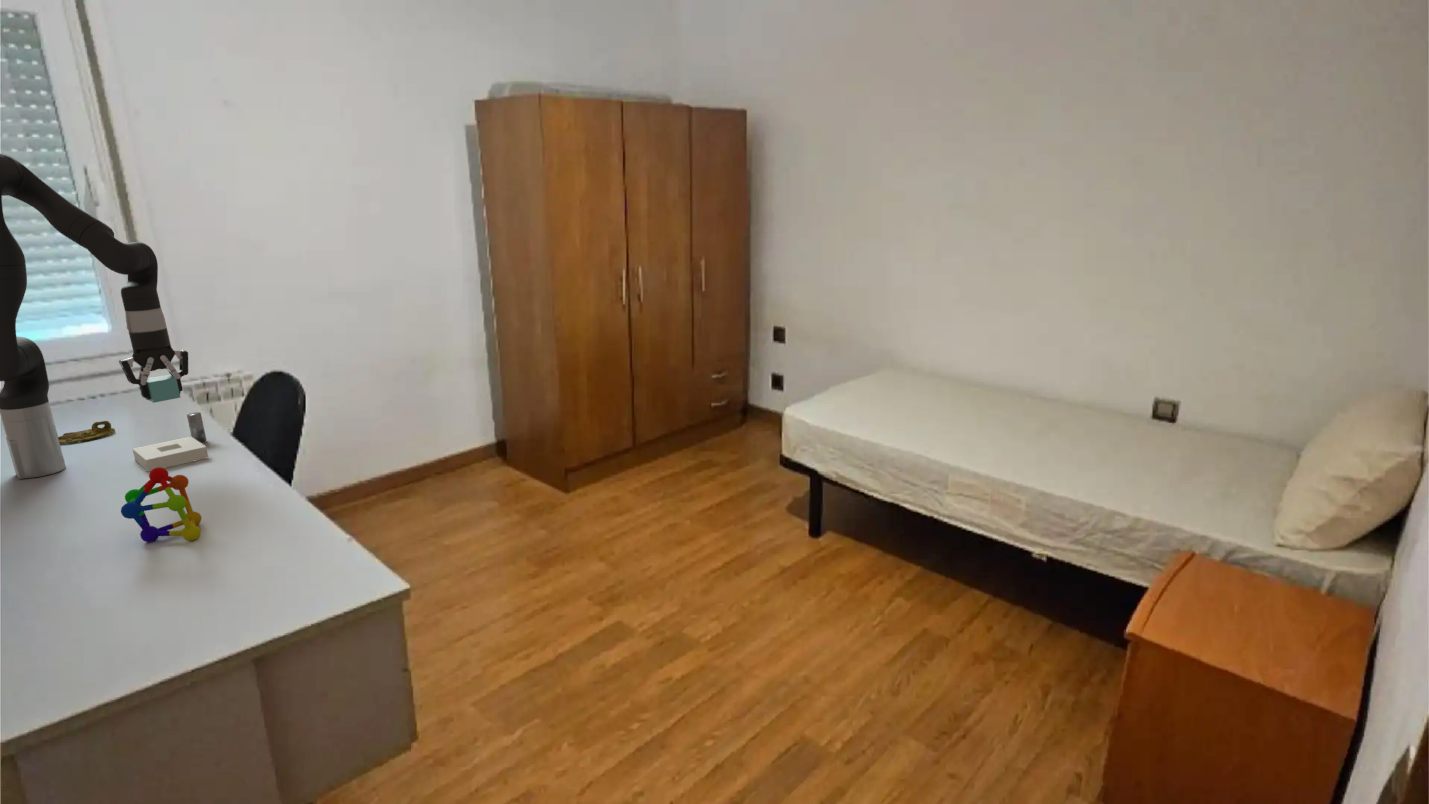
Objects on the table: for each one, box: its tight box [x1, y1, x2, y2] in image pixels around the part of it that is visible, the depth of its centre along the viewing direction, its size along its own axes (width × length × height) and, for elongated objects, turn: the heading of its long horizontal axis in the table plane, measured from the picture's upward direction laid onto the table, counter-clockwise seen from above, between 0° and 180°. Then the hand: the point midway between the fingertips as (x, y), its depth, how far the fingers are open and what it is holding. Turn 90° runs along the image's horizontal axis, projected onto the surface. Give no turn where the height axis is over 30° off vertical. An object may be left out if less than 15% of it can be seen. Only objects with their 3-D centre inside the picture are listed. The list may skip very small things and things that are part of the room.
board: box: [132, 436, 209, 473], centre depth 200 cm, size 13×13×3 cm
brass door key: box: [58, 420, 116, 446], centre depth 218 cm, size 9×5×15 cm
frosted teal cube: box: [146, 374, 181, 403], centre depth 190 cm, size 6×6×5 cm
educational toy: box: [120, 467, 203, 543], centre depth 153 cm, size 16×13×15 cm
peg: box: [186, 411, 207, 444], centre depth 212 cm, size 3×3×8 cm
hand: (163, 396), depth 191 cm, fingers closed on frosted teal cube, 5 cm apart
